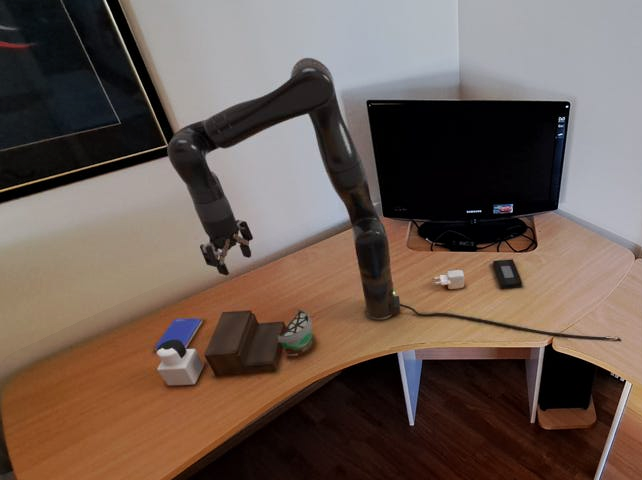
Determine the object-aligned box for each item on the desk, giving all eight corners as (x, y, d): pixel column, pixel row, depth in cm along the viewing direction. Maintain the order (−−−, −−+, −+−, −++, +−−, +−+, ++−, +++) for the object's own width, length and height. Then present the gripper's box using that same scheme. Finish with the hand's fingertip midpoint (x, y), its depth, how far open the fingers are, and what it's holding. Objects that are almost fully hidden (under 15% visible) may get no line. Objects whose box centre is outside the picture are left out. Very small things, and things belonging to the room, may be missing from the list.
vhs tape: (512, 263, 168) (512, 259, 167) (521, 287, 158) (522, 282, 156) (493, 265, 167) (493, 260, 166) (501, 289, 157) (501, 284, 155)
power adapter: (433, 292, 154) (432, 279, 150) (431, 284, 157) (430, 271, 154) (464, 289, 156) (465, 276, 152) (462, 280, 159) (462, 267, 156)
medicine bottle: (178, 365, 126) (160, 336, 118) (205, 364, 127) (188, 335, 119) (167, 386, 121) (147, 357, 113) (195, 385, 121) (176, 355, 113)
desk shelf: (286, 329, 138) (279, 308, 132) (275, 371, 126) (266, 350, 120) (232, 333, 136) (222, 312, 130) (215, 376, 124) (203, 355, 118)
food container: (305, 364, 128) (297, 340, 121) (285, 360, 129) (276, 337, 122) (325, 334, 137) (318, 311, 131) (306, 331, 138) (299, 307, 131)
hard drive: (174, 318, 138) (153, 347, 129) (201, 318, 138) (182, 347, 129) (176, 321, 139) (156, 351, 130) (203, 321, 139) (184, 351, 130)
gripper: (205, 230, 104) (229, 283, 115) (247, 202, 114) (265, 253, 125) (180, 224, 106) (205, 277, 116) (223, 197, 116) (243, 248, 127)
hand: (236, 265), depth 121 cm, fingers open, 8 cm apart
